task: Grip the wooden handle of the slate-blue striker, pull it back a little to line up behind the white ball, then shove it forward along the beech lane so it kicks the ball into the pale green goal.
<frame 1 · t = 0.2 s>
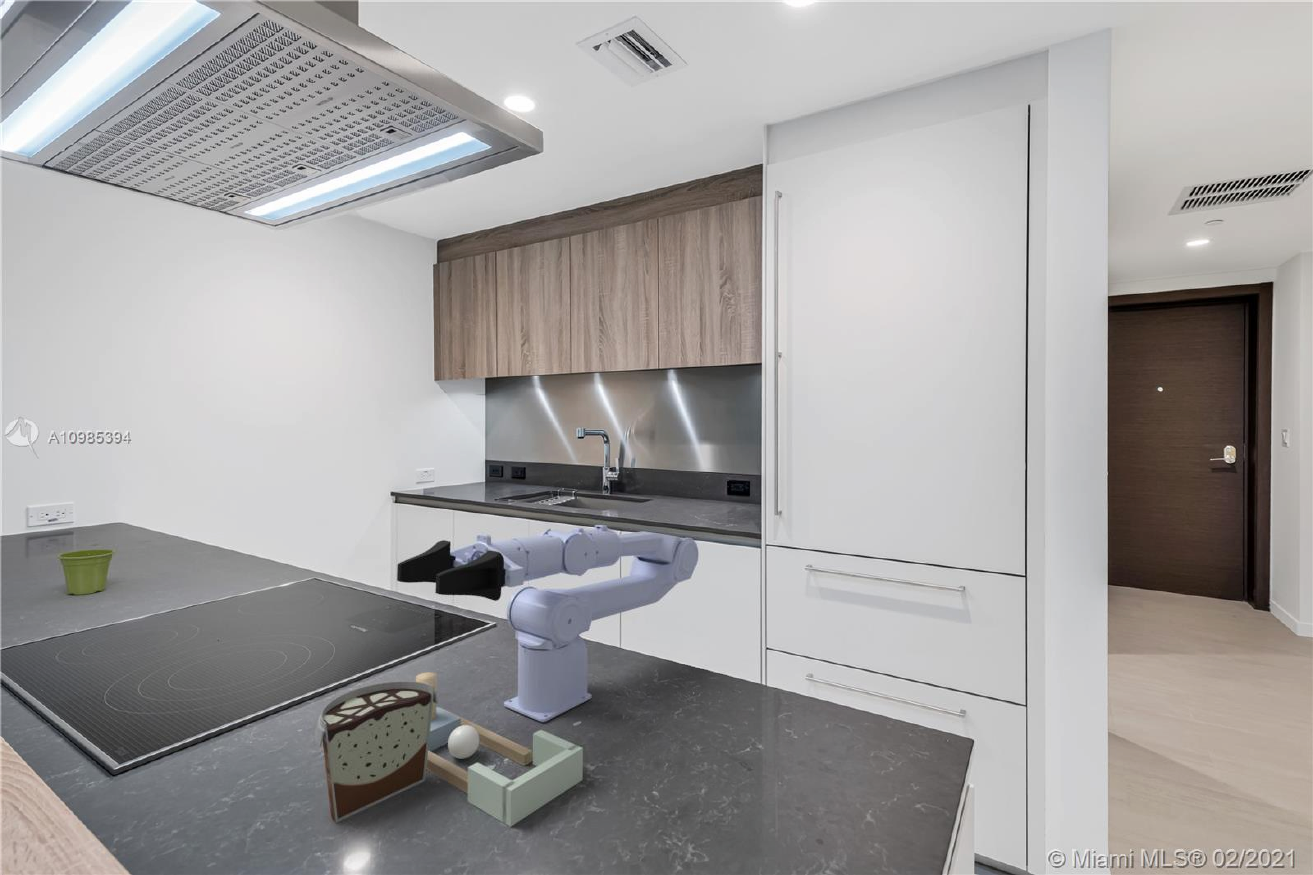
hand: (417, 578, 69), 21 cm above the counter, fingers open, 7 cm apart
goal: (524, 789, 65), on the counter
lane: (453, 751, 73), on the counter
food container: (368, 791, 65), on the counter
ball: (463, 741, 72), point 2 cm above the counter
striker: (430, 708, 75), point 4 cm above the counter, slide at 0.0 cm
plant pot: (87, 592, 138), on the counter
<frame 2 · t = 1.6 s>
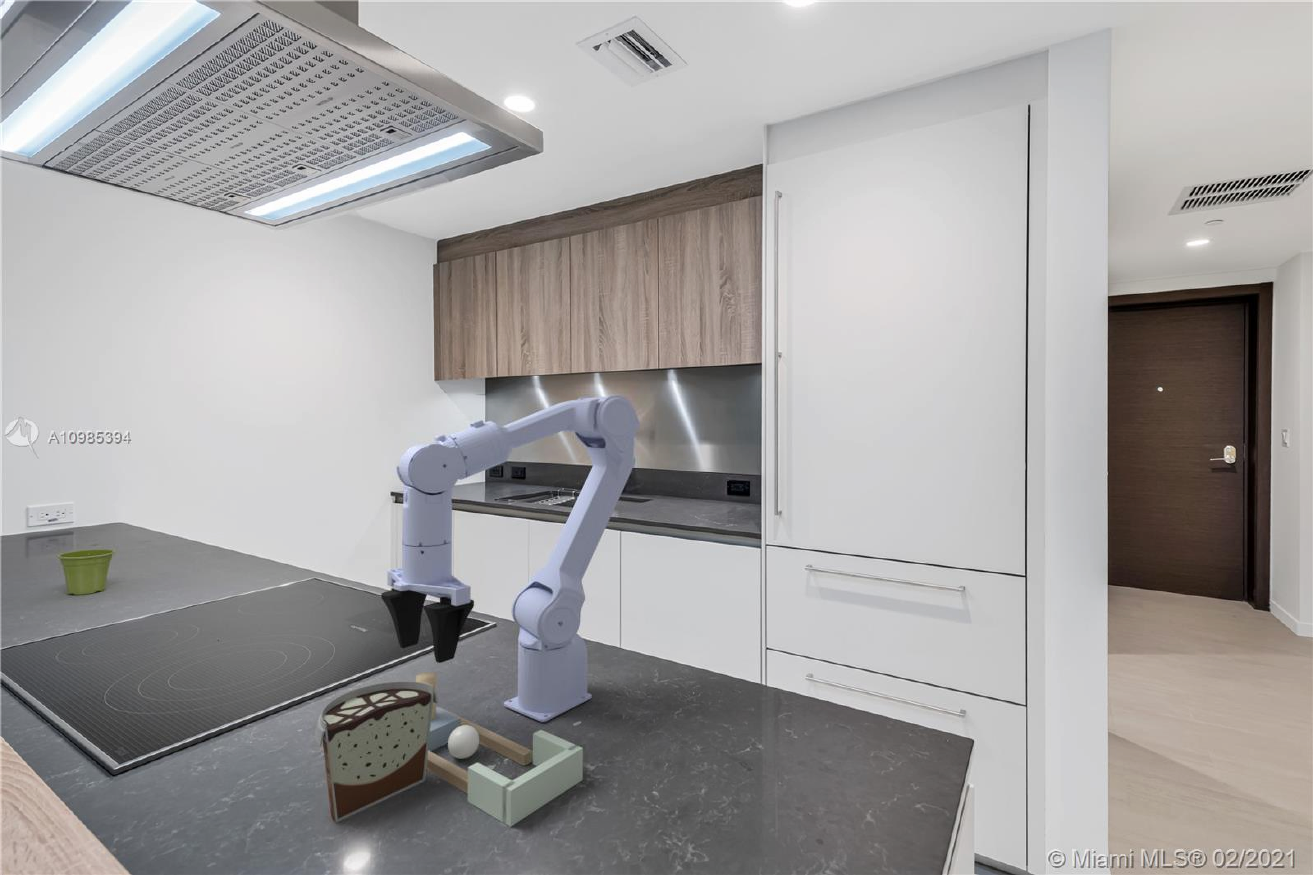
hand: (426, 652, 76), 10 cm above the counter, fingers open, 7 cm apart
nothing on the counter moved.
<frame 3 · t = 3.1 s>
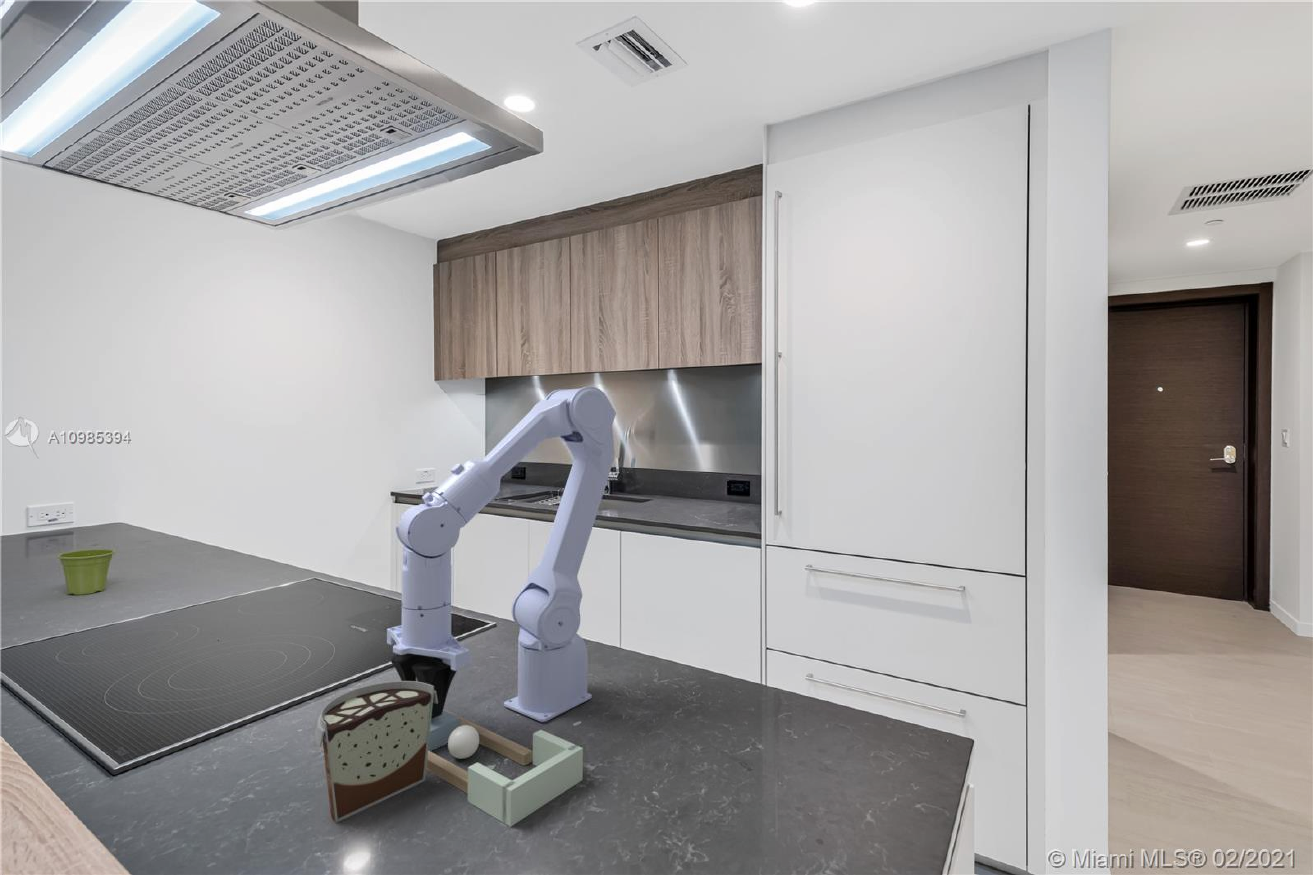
hand: (426, 713, 76), 3 cm above the counter, fingers closed on striker, 2 cm apart
striker: (430, 708, 75), point 4 cm above the counter, slide at 0.0 cm, touching gripper
everything else where it was.
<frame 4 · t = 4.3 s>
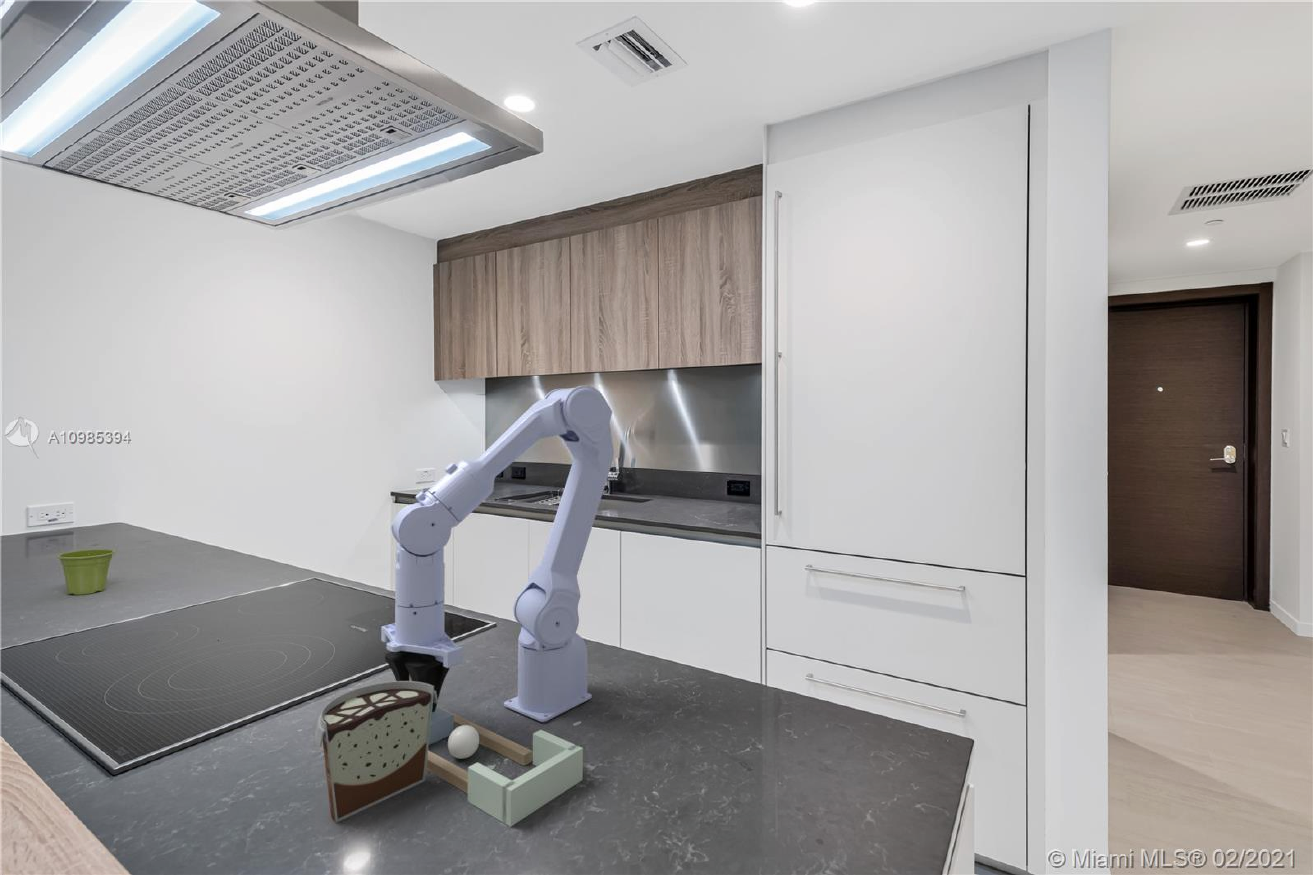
hand: (419, 710, 77), 3 cm above the counter, fingers closed on striker, 2 cm apart
striker: (424, 705, 76), point 4 cm above the counter, slide at -1.4 cm, touching gripper
everything else where it was.
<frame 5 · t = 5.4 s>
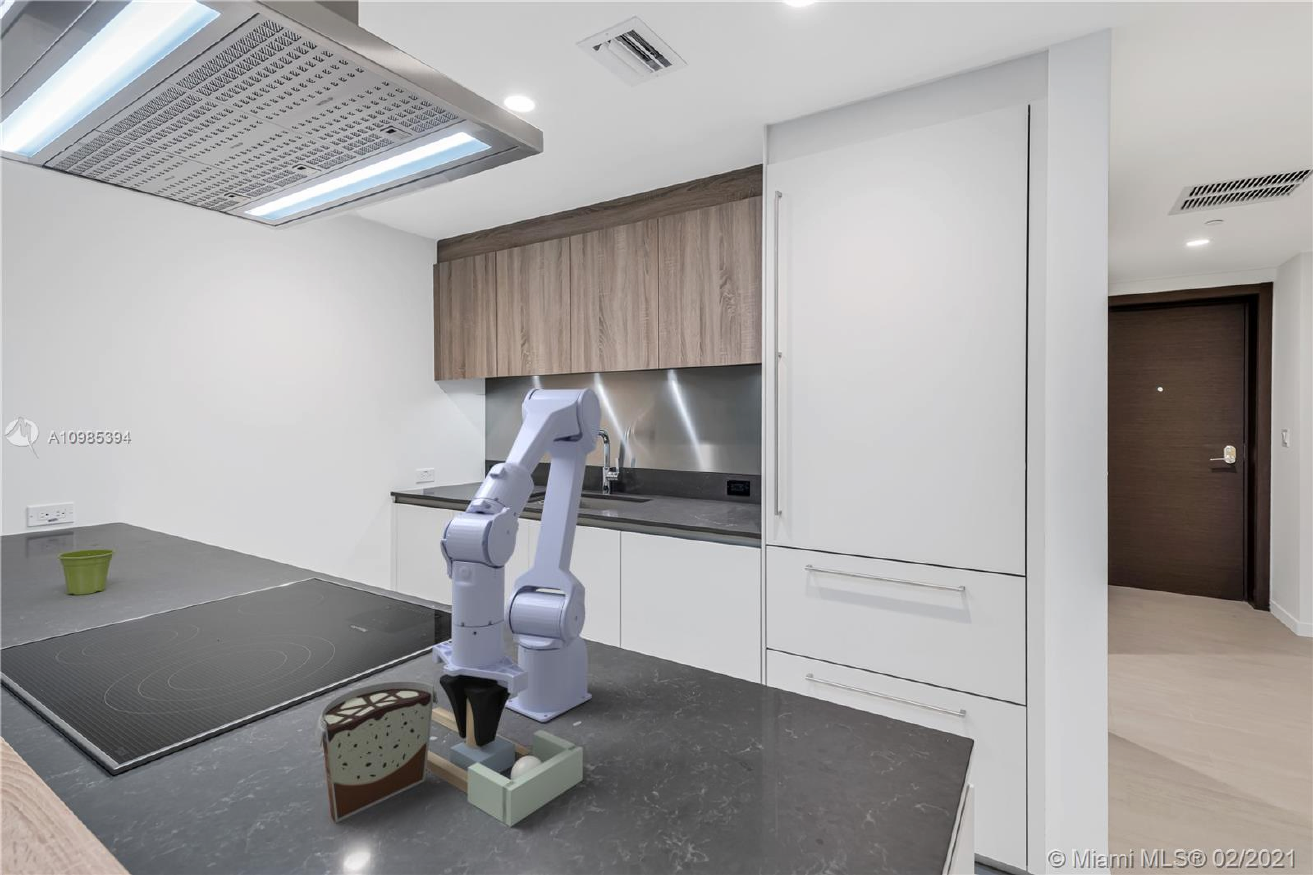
hand: (477, 738, 70), 3 cm above the counter, fingers closed on striker, 2 cm apart
ball: (527, 774, 65), point 2 cm above the counter, tilted 7°
striker: (483, 733, 70), point 4 cm above the counter, slide at 10.0 cm, touching gripper
everything else where it was.
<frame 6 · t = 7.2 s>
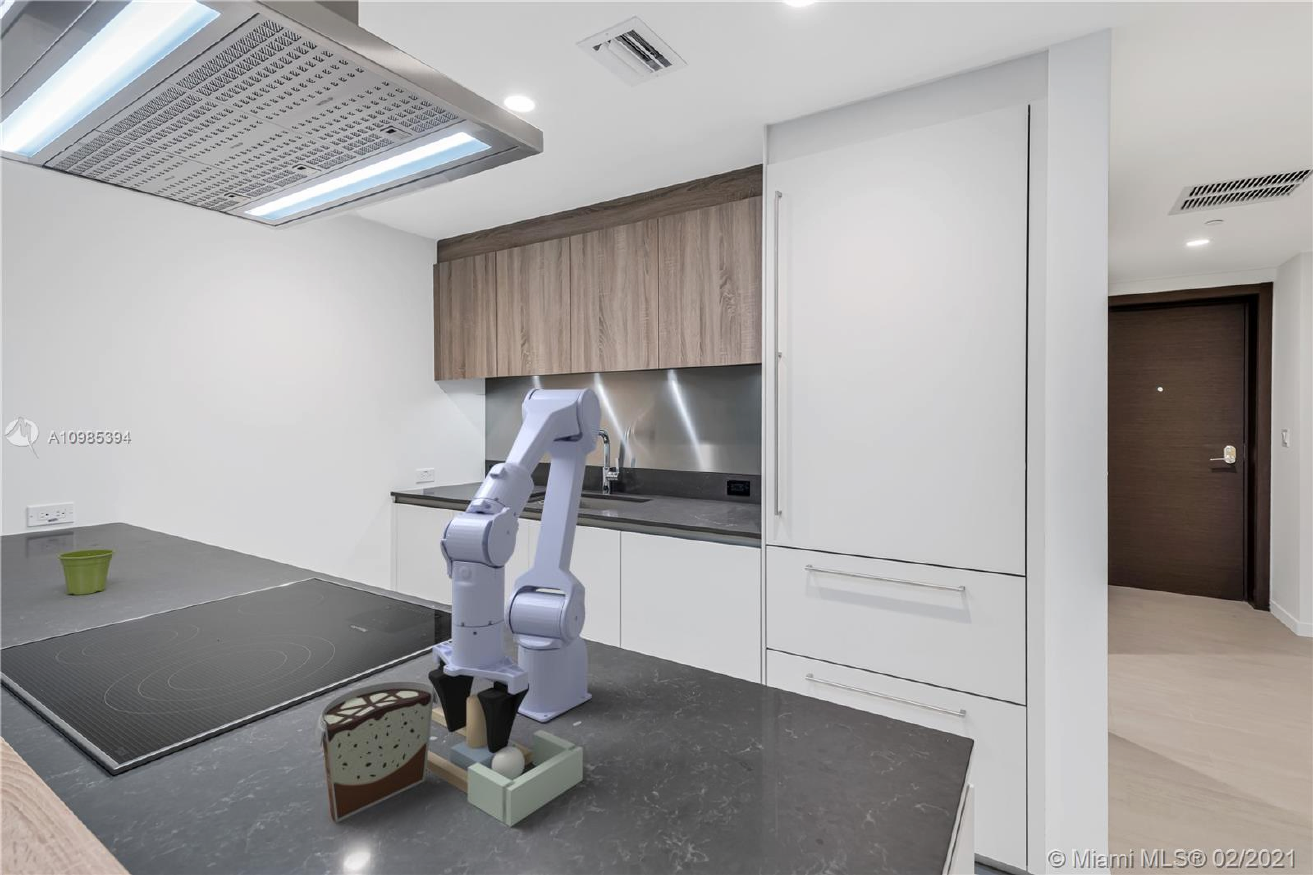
hand: (477, 738, 70), 3 cm above the counter, fingers open, 7 cm apart
ball: (508, 764, 67), point 2 cm above the counter, tilted 110°, touching gripper
striker: (483, 733, 70), point 4 cm above the counter, slide at 10.0 cm
everything else where it was.
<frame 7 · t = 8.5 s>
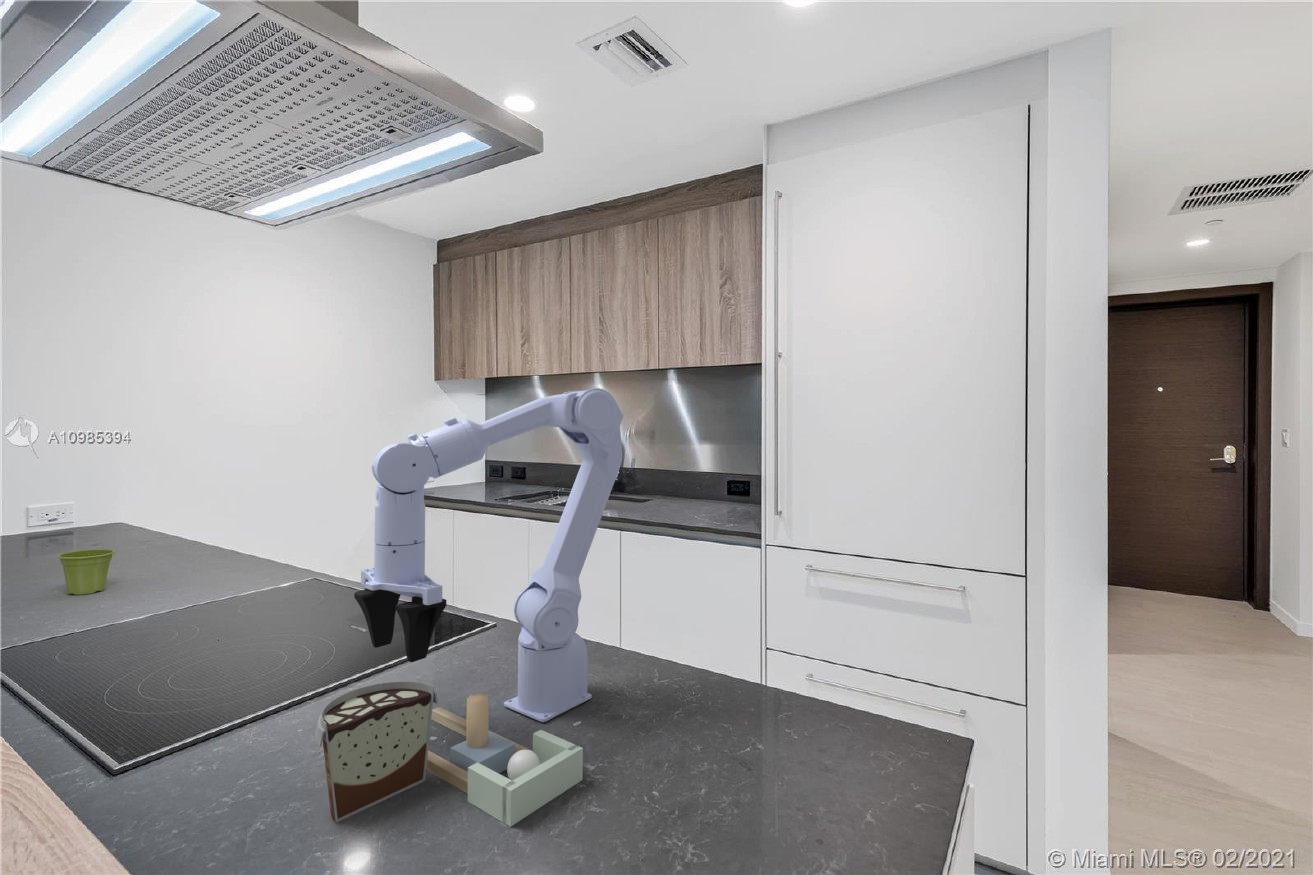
hand: (399, 652, 76), 10 cm above the counter, fingers open, 7 cm apart
ball: (523, 767, 66), point 2 cm above the counter, tilted 49°
everything else where it was.
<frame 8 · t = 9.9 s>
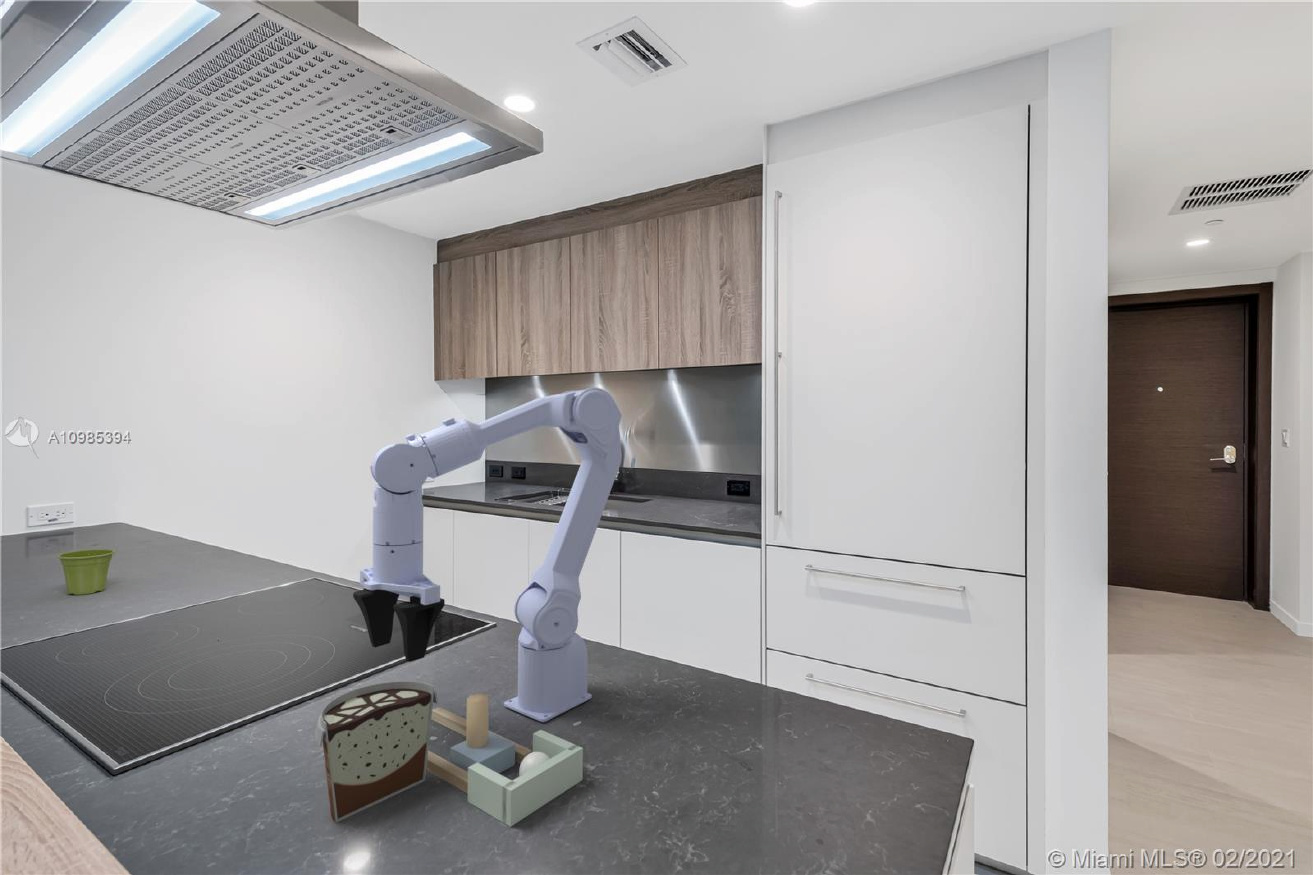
hand: (397, 651, 76), 10 cm above the counter, fingers open, 7 cm apart
ball: (535, 770, 66), point 2 cm above the counter, tilted 19°
everything else where it was.
at the end: ball 1.9 cm from the target spot on the goal, point 1.7 cm above the goal's base; striker slide at 10.0 cm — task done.
